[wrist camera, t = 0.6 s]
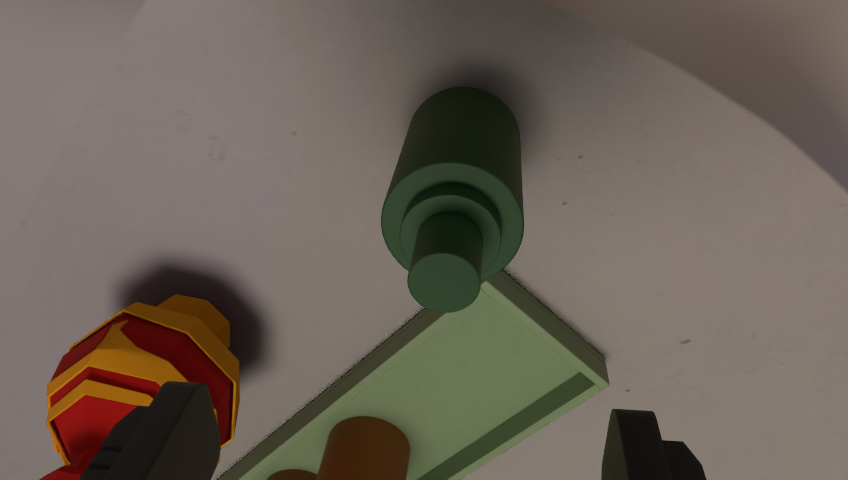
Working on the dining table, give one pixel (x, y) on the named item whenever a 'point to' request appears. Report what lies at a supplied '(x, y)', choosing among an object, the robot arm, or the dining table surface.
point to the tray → (449, 388)
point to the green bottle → (455, 197)
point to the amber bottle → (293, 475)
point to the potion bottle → (138, 374)
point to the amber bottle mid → (365, 451)
